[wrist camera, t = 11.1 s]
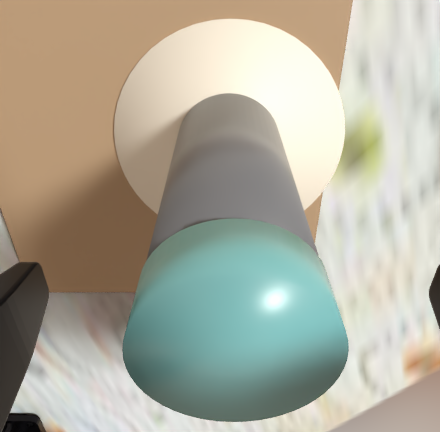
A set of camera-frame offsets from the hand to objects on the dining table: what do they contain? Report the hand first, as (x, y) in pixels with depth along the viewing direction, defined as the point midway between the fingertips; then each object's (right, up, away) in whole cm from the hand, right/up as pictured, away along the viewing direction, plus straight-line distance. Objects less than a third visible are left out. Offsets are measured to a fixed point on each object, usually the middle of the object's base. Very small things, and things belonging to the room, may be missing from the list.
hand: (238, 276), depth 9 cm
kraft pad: (-3, +5, +7) cm, 9 cm away
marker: (0, +4, +7) cm, 8 cm away
